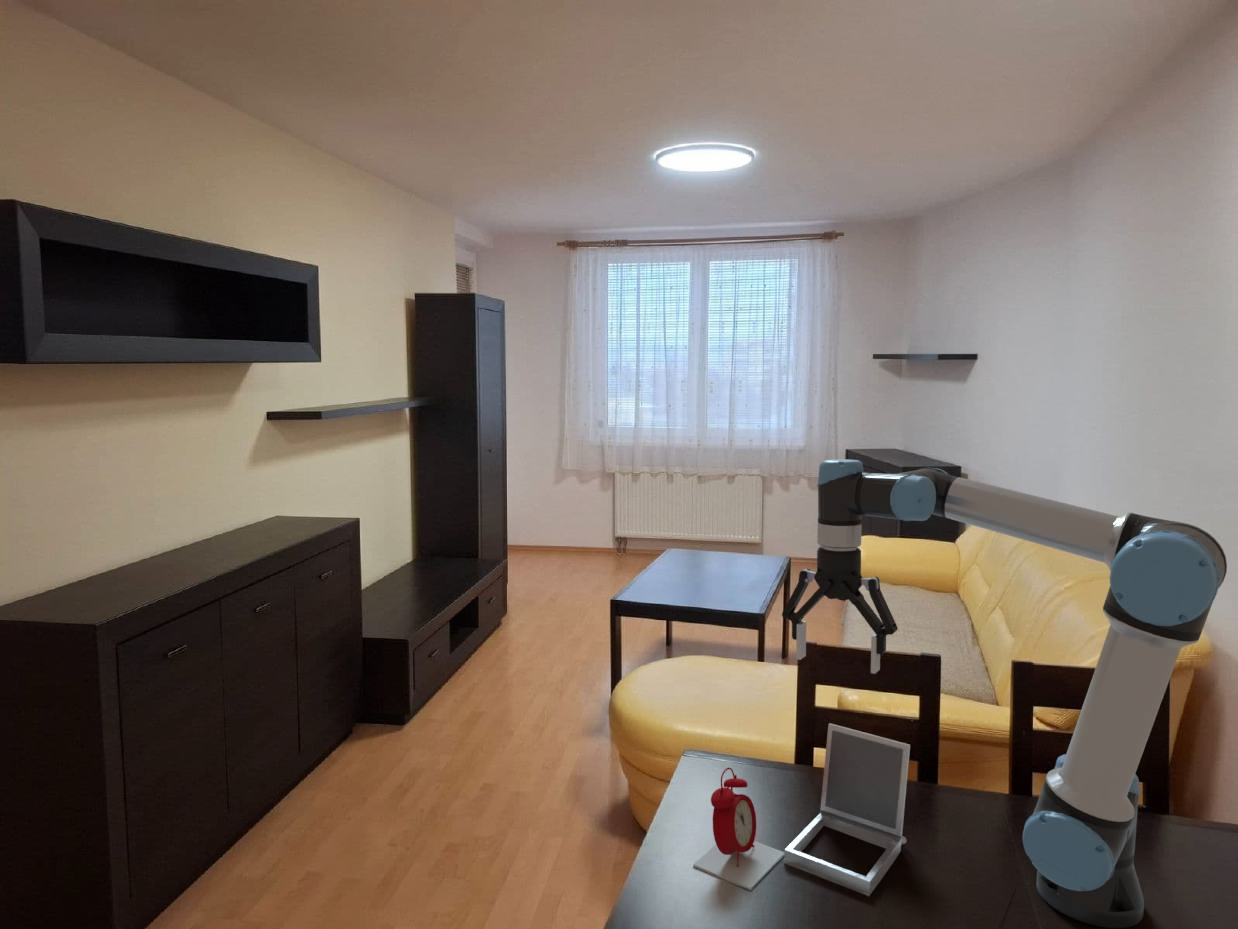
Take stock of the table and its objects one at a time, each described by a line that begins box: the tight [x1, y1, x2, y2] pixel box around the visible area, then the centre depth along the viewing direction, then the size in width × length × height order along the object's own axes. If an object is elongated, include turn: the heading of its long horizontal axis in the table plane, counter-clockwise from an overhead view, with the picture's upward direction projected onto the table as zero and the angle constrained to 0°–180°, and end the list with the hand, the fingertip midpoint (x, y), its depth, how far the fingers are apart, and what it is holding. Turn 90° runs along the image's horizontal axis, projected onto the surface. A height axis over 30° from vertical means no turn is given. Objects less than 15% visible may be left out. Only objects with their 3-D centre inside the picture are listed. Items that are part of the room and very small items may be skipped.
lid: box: [820, 722, 911, 836], centre depth 149 cm, size 15×16×1 cm
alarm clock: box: [710, 767, 757, 867], centre depth 142 cm, size 10×6×15 cm, turn 149°
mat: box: [692, 840, 784, 892], centre depth 141 cm, size 11×13×1 cm
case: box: [783, 809, 902, 897], centre depth 143 cm, size 15×16×3 cm
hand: (837, 664), depth 145 cm, fingers open, 13 cm apart
